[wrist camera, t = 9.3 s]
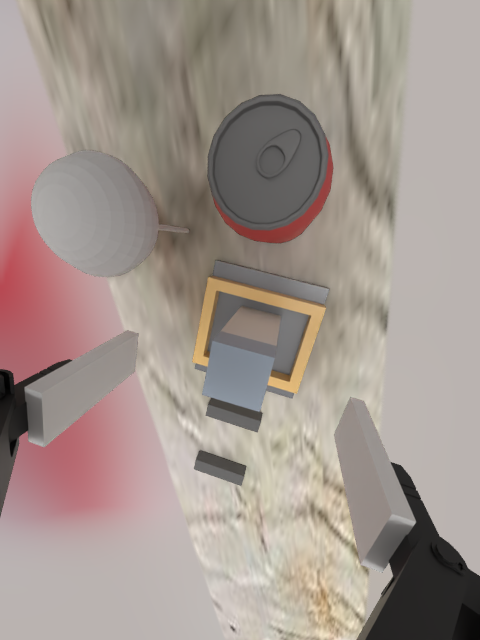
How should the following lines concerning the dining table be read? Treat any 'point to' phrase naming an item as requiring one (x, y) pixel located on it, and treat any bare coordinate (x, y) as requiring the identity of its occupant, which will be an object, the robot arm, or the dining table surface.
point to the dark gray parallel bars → (236, 417)
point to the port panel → (272, 297)
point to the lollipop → (96, 213)
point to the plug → (243, 358)
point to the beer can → (270, 168)
